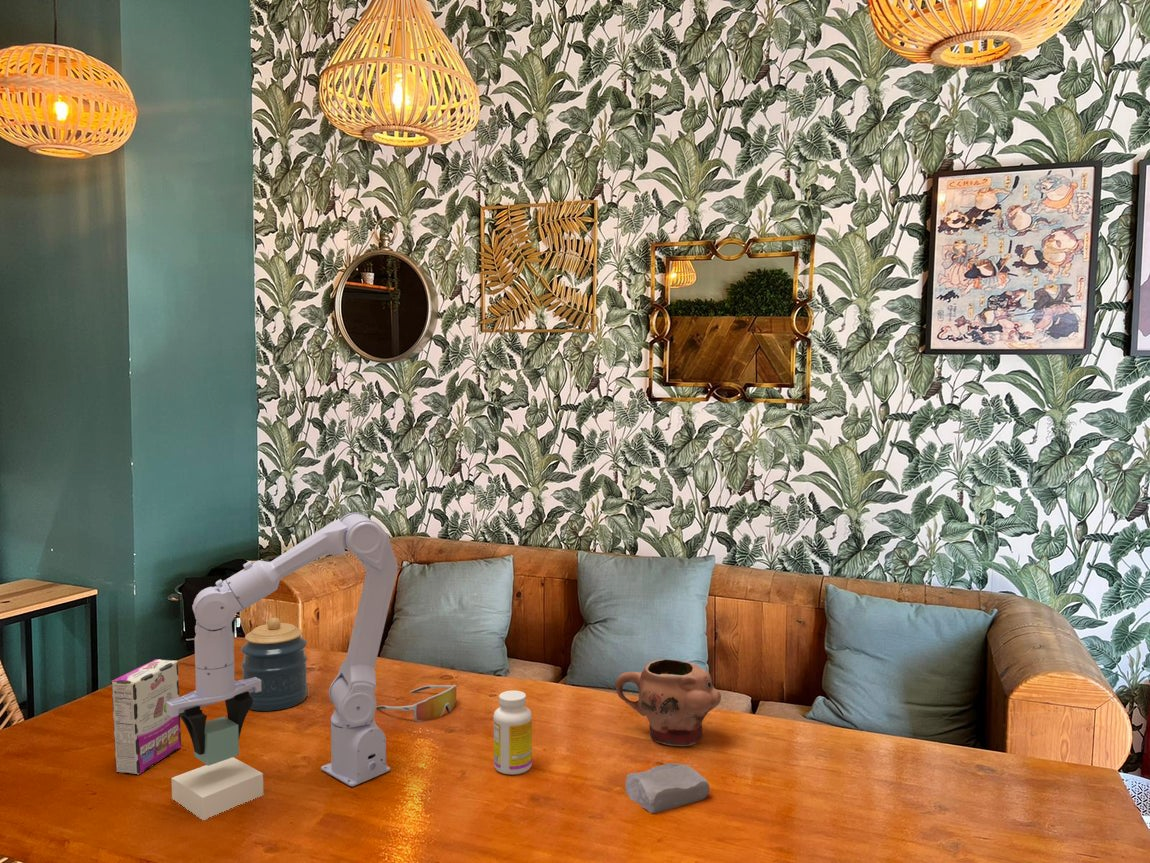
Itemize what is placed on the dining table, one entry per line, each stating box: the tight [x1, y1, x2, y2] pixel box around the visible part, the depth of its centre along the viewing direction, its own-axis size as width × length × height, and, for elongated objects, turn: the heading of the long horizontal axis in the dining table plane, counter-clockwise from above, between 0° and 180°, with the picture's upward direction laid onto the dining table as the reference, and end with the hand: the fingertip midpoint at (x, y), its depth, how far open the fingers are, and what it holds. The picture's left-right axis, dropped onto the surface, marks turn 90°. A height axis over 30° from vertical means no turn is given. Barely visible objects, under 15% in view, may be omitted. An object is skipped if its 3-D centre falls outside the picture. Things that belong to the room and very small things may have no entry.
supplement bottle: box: [493, 690, 533, 776], centre depth 144 cm, size 7×7×13 cm
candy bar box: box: [111, 658, 182, 776], centre depth 146 cm, size 11×5×16 cm, turn 168°
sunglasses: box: [376, 684, 457, 722], centre depth 170 cm, size 14×15×5 cm
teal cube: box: [193, 716, 240, 766], centre depth 133 cm, size 5×5×5 cm
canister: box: [240, 617, 308, 712], centre depth 173 cm, size 13×13×18 cm
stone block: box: [624, 762, 711, 814], centre depth 135 cm, size 12×5×10 cm
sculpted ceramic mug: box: [614, 658, 722, 747], centre depth 156 cm, size 20×12×14 cm, turn 80°
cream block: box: [170, 757, 264, 821], centre depth 133 cm, size 10×10×4 cm
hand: (216, 746), depth 133 cm, fingers closed on teal cube, 5 cm apart
